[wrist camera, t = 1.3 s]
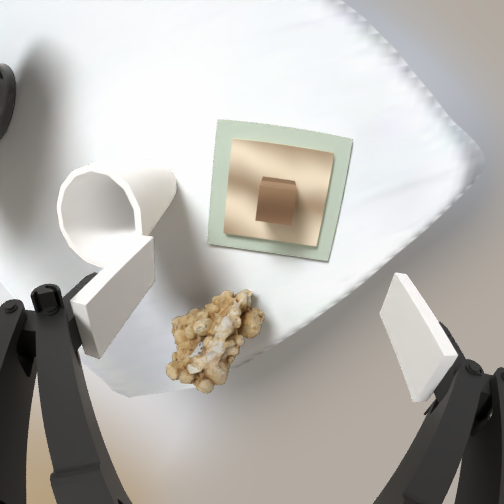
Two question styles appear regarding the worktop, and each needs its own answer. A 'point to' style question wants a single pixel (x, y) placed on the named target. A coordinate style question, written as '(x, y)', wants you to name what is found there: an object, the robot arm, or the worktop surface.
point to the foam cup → (112, 206)
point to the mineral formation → (212, 339)
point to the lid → (276, 191)
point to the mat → (286, 137)
